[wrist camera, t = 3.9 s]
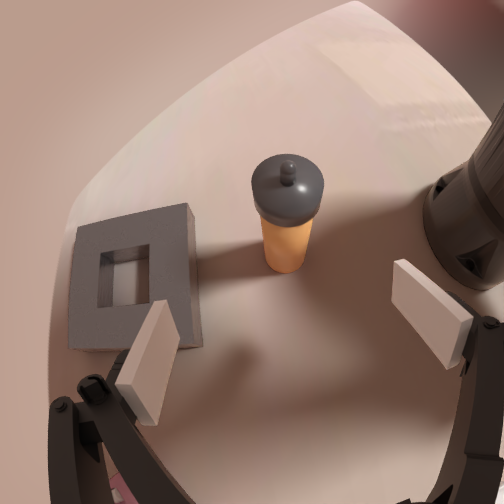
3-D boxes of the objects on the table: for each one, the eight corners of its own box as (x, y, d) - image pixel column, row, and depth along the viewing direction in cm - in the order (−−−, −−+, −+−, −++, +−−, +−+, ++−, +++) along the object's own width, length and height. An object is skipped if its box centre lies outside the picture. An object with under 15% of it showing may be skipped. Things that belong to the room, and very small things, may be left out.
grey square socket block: (194, 217, 31) (187, 202, 28) (203, 346, 26) (194, 343, 23) (90, 238, 32) (77, 227, 29) (84, 351, 26) (68, 348, 23)
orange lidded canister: (303, 230, 29) (315, 133, 17) (312, 272, 28) (336, 189, 15) (259, 237, 30) (244, 141, 17) (265, 279, 28) (254, 200, 15)
